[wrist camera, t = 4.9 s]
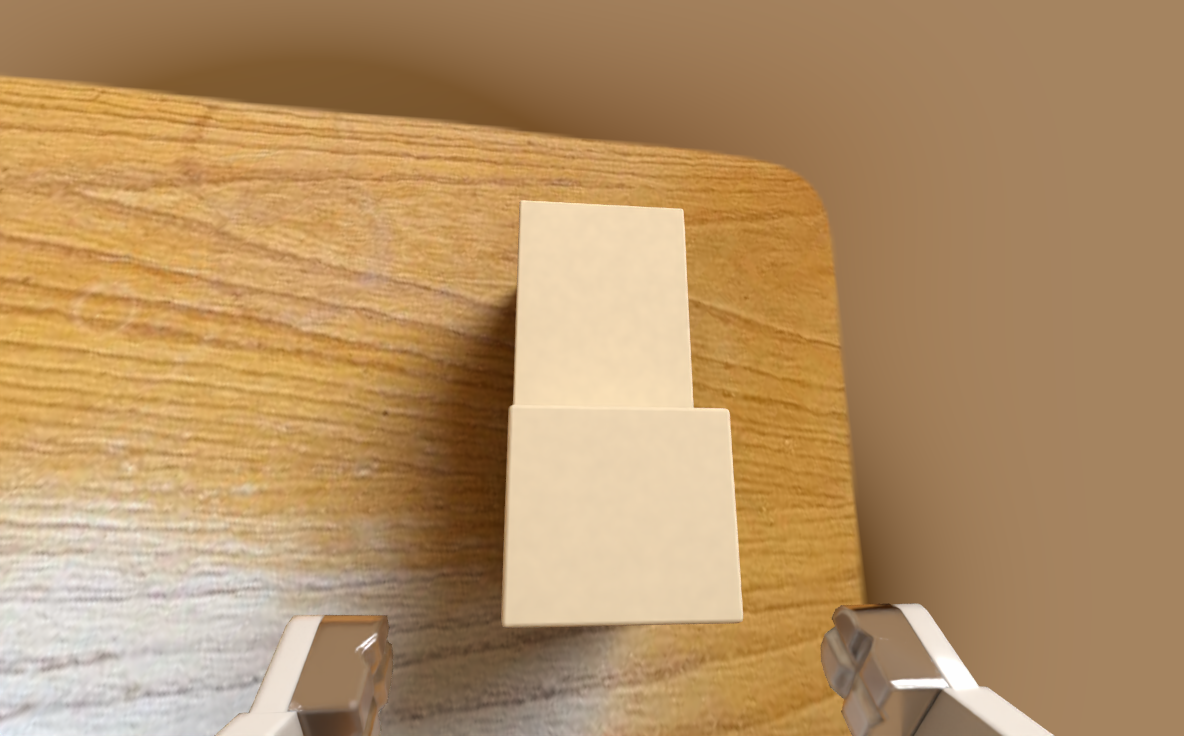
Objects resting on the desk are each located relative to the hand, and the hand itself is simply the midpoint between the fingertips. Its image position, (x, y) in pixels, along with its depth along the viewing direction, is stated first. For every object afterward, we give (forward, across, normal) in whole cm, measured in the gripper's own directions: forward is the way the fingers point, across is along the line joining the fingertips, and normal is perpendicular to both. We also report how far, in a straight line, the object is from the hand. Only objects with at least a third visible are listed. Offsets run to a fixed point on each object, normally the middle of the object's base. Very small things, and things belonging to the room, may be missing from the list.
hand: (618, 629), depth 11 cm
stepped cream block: (+9, 0, +2) cm, 9 cm away
